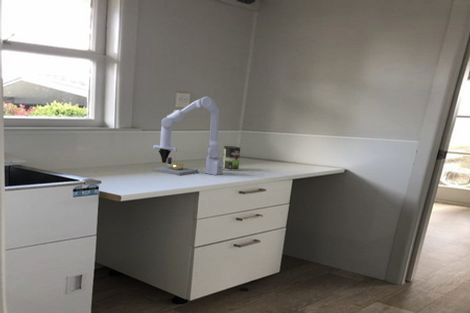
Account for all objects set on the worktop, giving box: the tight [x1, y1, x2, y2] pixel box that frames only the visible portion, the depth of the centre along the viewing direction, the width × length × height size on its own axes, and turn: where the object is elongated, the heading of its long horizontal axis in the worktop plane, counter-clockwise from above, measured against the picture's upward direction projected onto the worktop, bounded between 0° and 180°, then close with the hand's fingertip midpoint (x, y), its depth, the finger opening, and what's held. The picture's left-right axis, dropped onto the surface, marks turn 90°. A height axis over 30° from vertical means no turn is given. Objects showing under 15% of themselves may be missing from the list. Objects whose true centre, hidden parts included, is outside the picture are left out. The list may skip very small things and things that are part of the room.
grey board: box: [152, 165, 199, 176], centre depth 261 cm, size 19×18×2 cm
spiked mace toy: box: [166, 156, 184, 170], centre depth 262 cm, size 12×6×5 cm, turn 43°
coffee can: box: [222, 145, 241, 172], centre depth 286 cm, size 10×10×14 cm
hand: (164, 162), depth 261 cm, fingers closed
